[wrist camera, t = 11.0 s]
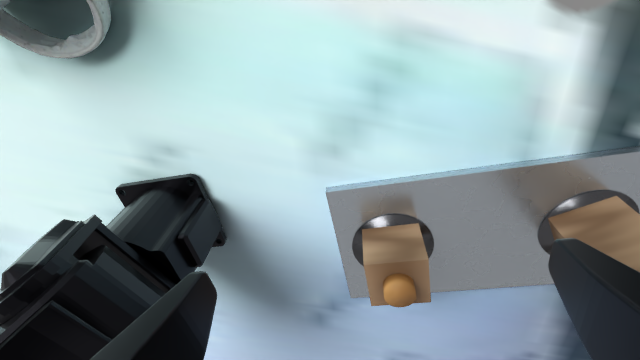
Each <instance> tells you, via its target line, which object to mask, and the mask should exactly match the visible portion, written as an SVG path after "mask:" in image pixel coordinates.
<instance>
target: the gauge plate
mask: <svg viewBox="0 0 640 360" xmlns="http://www.w3.org/2000/svg"><path fill="white" fill-rule="evenodd" d="M326 196H327V200H328V204H329V208H330V213H331V217H332V221H333V225H334V229H335V233H336V238H337V242H338V246H339V250H340V254H341V258H342V263H343V267H344V271H345V275H346V279H347V284H348V288H349V292H350V296H351V298H361V297H370V296H369V291H368V285H367V280H366V275H365V270H364V264H363V241H362V229H369V228H379V227H388V226H397V225H407V224H416V223H419V227H420V230H421V234H422V237H423V241H424V245H425V248H426V252H427V256H428V259H429V276H430V293H432V292H446V291H460V290H474V289H488V288H502V287H517V286H531V285H545V284H554V282H553V279H552V277H551V275H550V272H549V268H548V263H549V258H550V253H551V248H552V244H553V242H554V238H553V234H552V231H551V228H550V224H549V221H548V218H550V217H553V216H556V215H559V214H562V213H565V212H568V211H571V210H574V209H577V208H580V207H583V206H586V205H590V204H593V203H596V202H599V201H602V200H605V199H608V198H611V197H614V196H618V197H619V198H620V199H621V200H622V201H624V202H625V203H626V204H627V205H629V206H630V207H631V208H632V209H633V210H635V211H636V212H637V213H638V214H640V146H637V147H629V148H622V149H614V150H607V151H599V152H592V153H584V154H577V155H569V156H562V157H554V158H546V159H539V160H531V161H524V162H516V163H509V164H501V165H494V166H486V167H479V168H471V169H463V170H456V171H448V172H441V173H433V174H426V175H418V176H411V177H403V178H396V179H388V180H380V181H373V182H365V183H358V184H350V185H343V186H335V187H328V188H326Z"/></svg>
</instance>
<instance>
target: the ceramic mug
mask: <svg viewBox="0 0 640 360" xmlns="http://www.w3.org/2000/svg"><path fill="white" fill-rule="evenodd" d="M10 1H11V0H0V35H2V36H3V37H5V38H6V39H8V40H10V41H12V42H14V43H15V44H17V45H19V46H21V47H23V48H25V49H28V50H30V51H33V52H35V53H38V54H40V55H44V56H49V57H55V58H75V57H80V56H83V55H85V54H87V53H89V52H91V51H93V50H94V49H96V48H97V47H98V46H99V45H100V44H101V43H102V41H103V40H104V38H105V36H106V33H107V31H108V29H109V26H110V22H111V12H110V7H109V2H108V0H86V1H87V3H88V4H89V7H90V9H91V12H92V15H93V18H94V19H93V21H94V25H93V26H91V27H90V28H89V29H87V30H86V31H84V32H82V33H80V34H78V35H70V36H69V37H68V38H67V39H66V40H63V39H59V38H55V37H51V36H48V35H46V34H43V33H41V32H39V31H38V30H35V29H32V28H30V27H29V26H27V25H26V24H24V23H23V22H21V21H19V20H17V19H16V18H15V17H13V16H12V15H10V14H9V13H7V12H6V11H4V10H3V7H5V6H6V5H7V4H9V3H10Z"/></svg>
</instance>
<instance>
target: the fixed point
mask: <svg viewBox="0 0 640 360" xmlns="http://www.w3.org/2000/svg"><path fill="white" fill-rule="evenodd" d="M362 241H363V264H364V270H365V275H366V280H367V285H368V291H369V296H370V301H371V306H379V305H391V306H395V307H405V306H409V305H411V304H412V303H424V302H431V295H430V276H429V259H428V256H427V252H426V248H425V245H424V241H423V237H422V234H421V230H420V227H419V223H416V224H407V225H397V226H388V227H379V228H369V229H362Z"/></svg>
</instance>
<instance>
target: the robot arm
mask: <svg viewBox="0 0 640 360" xmlns="http://www.w3.org/2000/svg"><path fill="white" fill-rule="evenodd" d="M190 180H192V181H193V182H194V183H192V182H190ZM124 191H125V192H124ZM116 194H117V195H118V197H119V198H120V200H121V202H122V203H123V205H124V206H125V208H124V209H123V210H122V211H121V212H120V213H119V214H118V215H117V216H116V217H115V218H114V219H113V220H112V221H111V222H110V223H109V224H108V225H107V226H105V225H104V224H102V223H101V222H102V220H100V219H99V218H98V217H97V216H96V215H93V216H91V217H90V218H88V219H87V220H86V221H84V222H82V221H80V222H79V221H77V222H75V221H70V220H65V219H64V220H62V221H61V222H59V223H58V224H57V225H56V226H54V227H53V228H52V229H51V230H50V231H48V232H47V233H46V234H45V235H44V236H42V237H41V238H40V239H39V240H38V241H37V242H35V243H34V244H33V245H32V246H31V247H30V248H29V249H27V250H26V251H25V252H24V253H23V254H22V255H21V256H20V257H19V258H18V259H17V260H16V261H15V262H14V263H13V264H12V265H11V266H10V267H8V268H7V269H6V270H5V271H4V272H3V273H2V283H1V289H0V360H203V359H204V356H205V352H206V348H207V344H208V339H209V334H210V329H211V324H212V320H213V315H214V310H215V305H216V300H217V292H216V289H215V287H214V285H213V283H212V281H211V280H210V278H209V276H208V274H207V273H206V272H204V271H200V272H194V271H195V270H196V268H197V267H201V266H202V264H203V263H204V261H205V259H206V257H207V255H208V253H209V251H210V249H211V247H217V246H223V245H224V244H225V242H226V240H227V238H226V236H225V233H224V231H223V229H222V225H221V223H220V220H219V218H218V216H217V214H216V212H215V210H214V207H213V205H212V203H211V201H210V200H209V199H208V197H207V195H206V193H205V190H204V188H203V186H202V184H201V182H200V180H199V178H198V177H197V176H196V175H194V174H186V175H179V176H173V177H166V178H159V179H153V180H146V181H140V182H133V183H126V184H121V185H120V186H118V187H117V188H116ZM219 239H220V240H219ZM548 268H549V272H550V275H551V277H552V279H553V282H554V284H555V286H556V288H557V290H558V293H559V295H560V297H561V299H562V301H563V304H564V306H565V308H566V310H567V312H568V315H569V317H570V319H571V321H572V323H573V326H574V328H575V330H576V332H577V334H578V336H579V338H580V339H581V341H582V343H583V345H584V347H585V348H586V350H587V352H588V353H589V355H590V357H591V358H592V360H640V272H638V271H636V270H634V269H633V268H631V267H629V266H627V265H625V264H623V263H621V262H619V261H618V260H616V259H614V258H612V257H610V256H608V255H606V254H604V253H603V252H601V251H599V250H597V249H595V248H593V247H591V246H590V245H588V244H586V243H584V242H582V241H580V240H578V239H576V238H564V239H556V240H554V242H553V244H552V248H551V253H550V258H549V263H548Z"/></svg>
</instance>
